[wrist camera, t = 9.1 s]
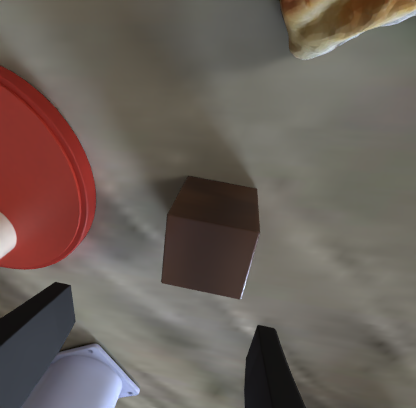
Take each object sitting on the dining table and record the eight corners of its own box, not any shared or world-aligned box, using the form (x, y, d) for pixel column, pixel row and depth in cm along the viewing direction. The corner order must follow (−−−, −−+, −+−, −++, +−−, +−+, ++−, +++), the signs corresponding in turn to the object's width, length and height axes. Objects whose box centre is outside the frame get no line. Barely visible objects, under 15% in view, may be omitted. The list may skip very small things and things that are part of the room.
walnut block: (180, 232, 19) (160, 283, 15) (187, 175, 17) (166, 214, 13) (242, 245, 19) (241, 300, 14) (257, 188, 17) (260, 232, 12)
